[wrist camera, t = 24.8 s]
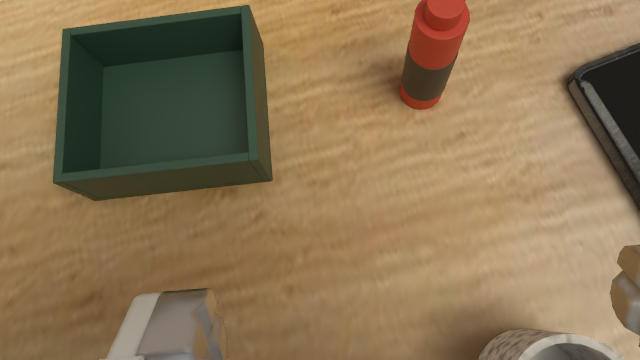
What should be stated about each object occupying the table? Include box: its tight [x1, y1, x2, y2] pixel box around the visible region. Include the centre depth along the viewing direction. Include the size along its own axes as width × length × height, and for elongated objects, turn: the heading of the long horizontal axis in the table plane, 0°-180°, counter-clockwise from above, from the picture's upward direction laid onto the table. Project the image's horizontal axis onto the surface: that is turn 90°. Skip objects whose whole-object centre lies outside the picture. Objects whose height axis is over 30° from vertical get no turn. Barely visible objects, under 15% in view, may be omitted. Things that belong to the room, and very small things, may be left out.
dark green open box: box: [53, 5, 272, 200], centre depth 33 cm, size 13×11×5 cm
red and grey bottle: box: [400, 0, 470, 109], centre depth 30 cm, size 3×3×10 cm
